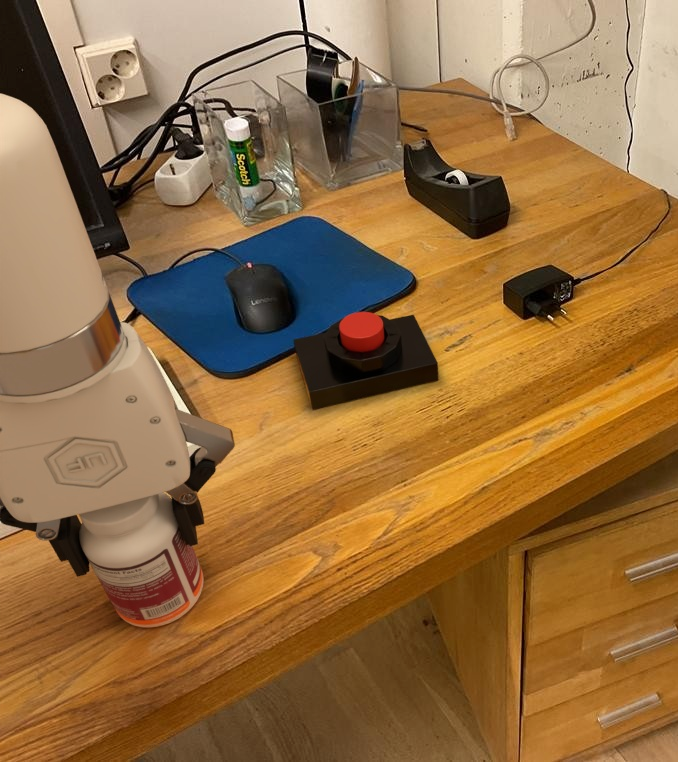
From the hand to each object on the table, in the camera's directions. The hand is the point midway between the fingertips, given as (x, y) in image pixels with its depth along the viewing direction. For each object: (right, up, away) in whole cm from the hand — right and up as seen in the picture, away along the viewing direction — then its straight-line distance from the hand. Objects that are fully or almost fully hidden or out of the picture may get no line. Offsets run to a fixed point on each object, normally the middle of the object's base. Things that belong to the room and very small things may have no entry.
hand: (137, 542), depth 55 cm
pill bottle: (0, -5, +4) cm, 6 cm away
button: (+12, +15, +21) cm, 28 cm away
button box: (+11, +12, +23) cm, 29 cm away
